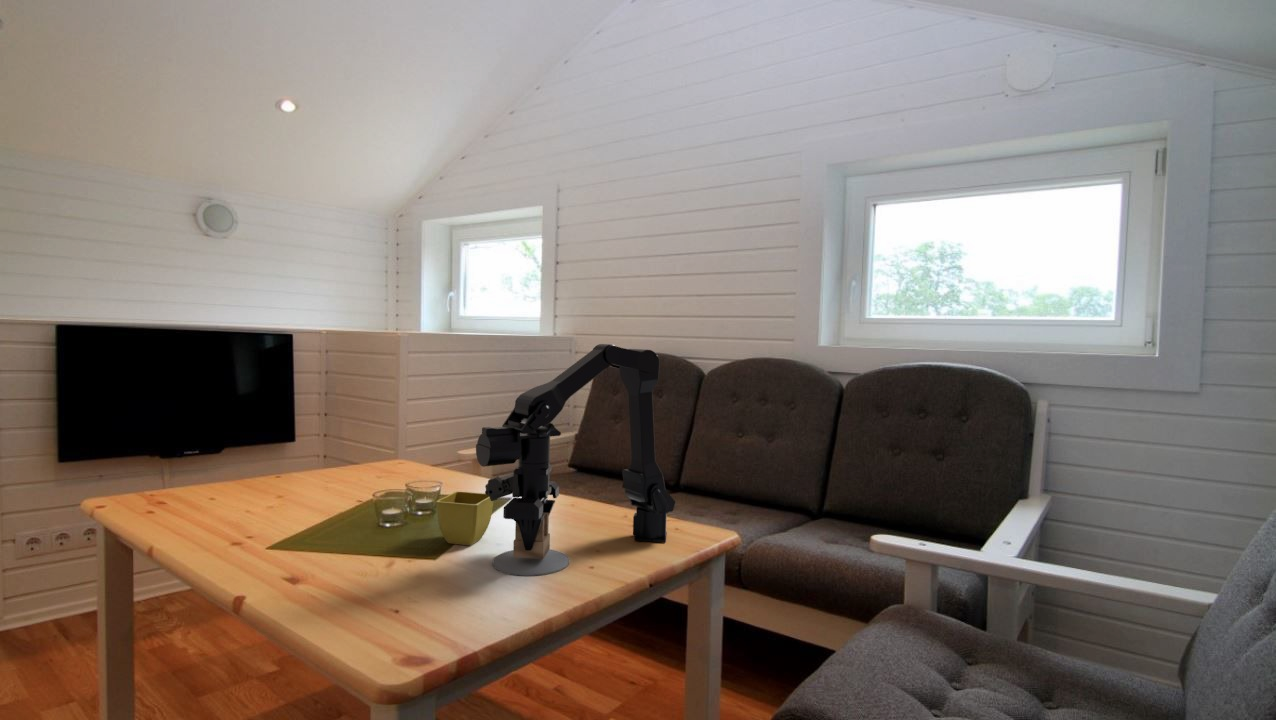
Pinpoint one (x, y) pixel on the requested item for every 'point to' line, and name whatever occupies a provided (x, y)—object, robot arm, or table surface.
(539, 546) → the stool
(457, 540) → the flower pot
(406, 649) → the table surface
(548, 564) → the mat
